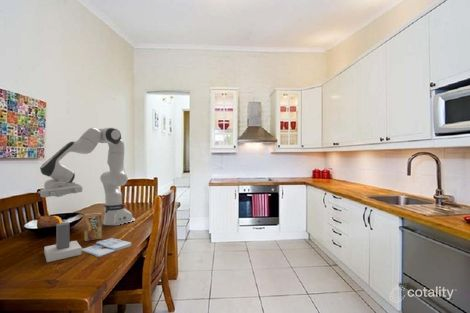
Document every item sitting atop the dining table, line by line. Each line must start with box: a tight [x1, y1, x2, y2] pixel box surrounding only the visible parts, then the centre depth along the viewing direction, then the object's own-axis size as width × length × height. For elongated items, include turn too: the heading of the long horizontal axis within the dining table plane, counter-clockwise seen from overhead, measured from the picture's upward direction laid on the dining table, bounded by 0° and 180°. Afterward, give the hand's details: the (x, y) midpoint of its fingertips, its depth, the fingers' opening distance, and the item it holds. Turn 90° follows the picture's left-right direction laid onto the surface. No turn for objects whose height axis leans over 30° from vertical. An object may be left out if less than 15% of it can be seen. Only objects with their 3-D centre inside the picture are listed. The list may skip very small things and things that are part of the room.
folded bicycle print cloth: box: [81, 237, 133, 258], centre depth 134 cm, size 19×20×2 cm
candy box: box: [84, 212, 103, 242], centre depth 147 cm, size 9×4×15 cm, turn 119°
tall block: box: [55, 221, 71, 250], centre depth 125 cm, size 5×5×12 cm
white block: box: [43, 240, 82, 263], centre depth 125 cm, size 14×14×4 cm
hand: (66, 193), depth 137 cm, fingers open, 8 cm apart
